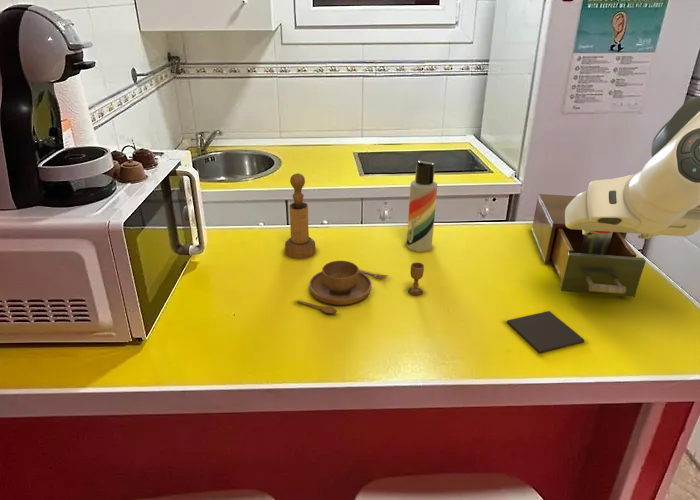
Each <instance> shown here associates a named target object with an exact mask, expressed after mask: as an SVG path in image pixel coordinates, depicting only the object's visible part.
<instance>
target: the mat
mask: <svg viewBox="0 0 700 500" xmlns="http://www.w3.org/2000/svg"><path fill="white" fill-rule="evenodd" d="M506 324H507V325H508V326H509V327H510V328H511V329H512V330H513V331H514V332H515V333H516V334H517V335H519V337H521V338H522V339H523V340H524V341H525V342H526V343H527V344H528V345H529V346H530V347H531V348H532V349H533V350H534V351H535V352H537V353H538V354H539V355H540V354H545V353H548V352H553V351H556V350H559V349H564V348H568V347H573V346H577V345H580V344H584V343H585V339H584V337H582V336H580V335H579V334H578V332H575V330H573V329H572V328H571V327H569V326H568V325H567V324H566V323H564V322H563V321H562V320H561V319H559V317H557V316H556V315H555V314H554V313H552V312H551V311H550V310H547V311H544V312H538V313H534V314H530V315H525V316H521V317H516V318H512V319H507V320H506Z"/></svg>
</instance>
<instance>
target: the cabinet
mask: <svg viewBox="0 0 700 500" xmlns="http://www.w3.org/2000/svg"><path fill="white" fill-rule="evenodd" d="M576 196H577V195H563V194H546V193H545V194H544V193H538V194H537V199H536V206H535V210H534V216H533V219H532V220H533V222H532V225H531V234H532V236H533V238H534V241H535V244H536V246H537V249H538V251H539V254H540V257H541V259H542V262H543V264H544V265H548V266H549V265H550V266H554V263H553V261H552V259H551V256H550V254H551V249H552V244H553V240H554V235H555V230H556V227H564V228H567V227H566V225H565V209H566V207H567V206H568V204H569V203H570V202H571V201H572V200H573V199H574V198H575V197H576ZM620 233H621V235H622V236H623V237H624V239H625V240H626V238H627V234H628V233H622V232H620Z"/></svg>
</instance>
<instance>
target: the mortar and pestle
mask: <svg viewBox="0 0 700 500" xmlns="http://www.w3.org/2000/svg"><path fill="white" fill-rule="evenodd" d="M289 183H290V184H291V187H292V188H293V191H294V193H293V194H292V199H293V202H292V203H290V204H289V206H288V208H289V227H290V237H289V238H288V239H287V240H286V241H285V243H284V253H285V255H286V256H287V257H288V258H291V259H296V260H303V259H309V258H311V257H313V256H314V255H315V254H316V251H317V249H316V240H314V239H313V238H312V237H310V232H309V231H310V230H309V205H308V203H306V202H304V195H305V194H304V193H302V190H303V188H304V186H305V183H306V178H305V176H304V175H303V174H302V173H299V172H298V173H297V172H296V173H294V174H292V175H291V177H290V179H289Z"/></svg>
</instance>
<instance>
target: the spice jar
mask: <svg viewBox="0 0 700 500" xmlns="http://www.w3.org/2000/svg"><path fill="white" fill-rule="evenodd" d="M612 234H613V232H607V231H594V234H592V235H584V237H583V242H582V246H581V250H580V253H582V254H596V255H607V252H608V249H609V245H610V241H611V238H612Z"/></svg>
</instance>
